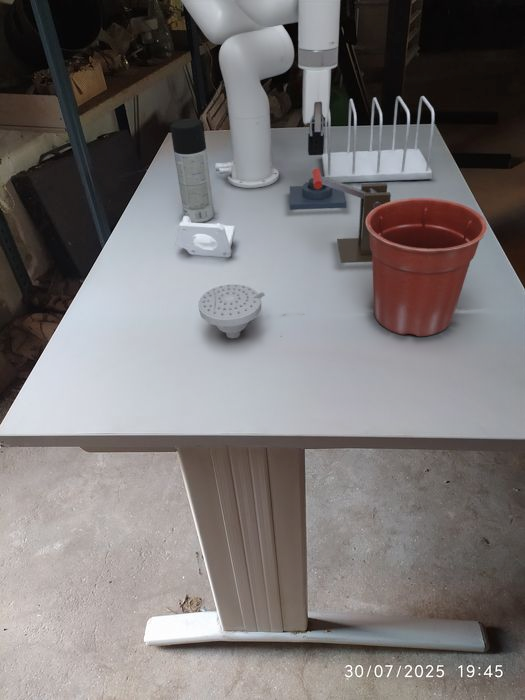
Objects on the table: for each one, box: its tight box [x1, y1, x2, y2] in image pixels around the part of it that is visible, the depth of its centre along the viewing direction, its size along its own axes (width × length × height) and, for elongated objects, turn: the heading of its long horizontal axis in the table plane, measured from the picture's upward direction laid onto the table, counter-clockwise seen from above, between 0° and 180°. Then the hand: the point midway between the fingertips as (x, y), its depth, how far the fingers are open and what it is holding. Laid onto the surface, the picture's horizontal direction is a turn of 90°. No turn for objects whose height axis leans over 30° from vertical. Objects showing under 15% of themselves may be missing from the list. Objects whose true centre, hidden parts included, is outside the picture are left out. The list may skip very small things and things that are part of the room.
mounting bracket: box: [174, 215, 237, 258], centre depth 103 cm, size 12×6×11 cm, turn 76°
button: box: [308, 177, 325, 190], centre depth 118 cm, size 4×4×2 cm
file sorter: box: [321, 95, 435, 184], centre depth 130 cm, size 25×17×16 cm
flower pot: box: [366, 197, 488, 337], centre depth 81 cm, size 16×16×16 cm
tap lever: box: [311, 167, 381, 199], centre depth 94 cm, size 13×6×2 cm, turn 88°
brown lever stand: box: [336, 182, 392, 264], centre depth 98 cm, size 12×9×13 cm
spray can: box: [169, 118, 215, 223], centre depth 112 cm, size 7×7×20 cm
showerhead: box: [197, 284, 266, 339], centre depth 82 cm, size 9×7×10 cm
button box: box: [289, 181, 347, 211], centre depth 120 cm, size 12×10×4 cm
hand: (315, 153), depth 114 cm, fingers closed
